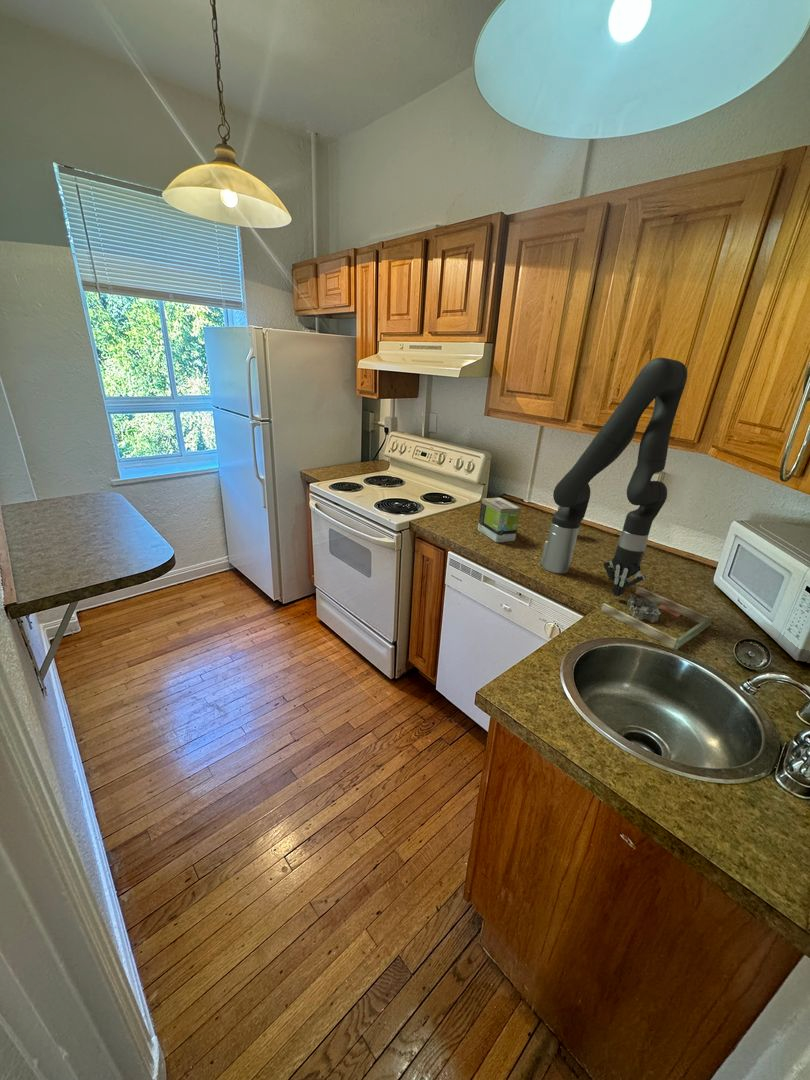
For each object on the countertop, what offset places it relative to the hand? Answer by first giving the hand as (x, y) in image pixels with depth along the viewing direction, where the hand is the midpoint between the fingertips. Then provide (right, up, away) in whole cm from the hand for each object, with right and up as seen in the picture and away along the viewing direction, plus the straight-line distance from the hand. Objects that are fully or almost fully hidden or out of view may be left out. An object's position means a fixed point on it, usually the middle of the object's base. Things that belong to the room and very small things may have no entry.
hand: (617, 595), depth 134 cm
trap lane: (+7, -6, -8) cm, 12 cm away
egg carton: (+5, -5, -5) cm, 9 cm away
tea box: (-29, +19, +46) cm, 58 cm away
